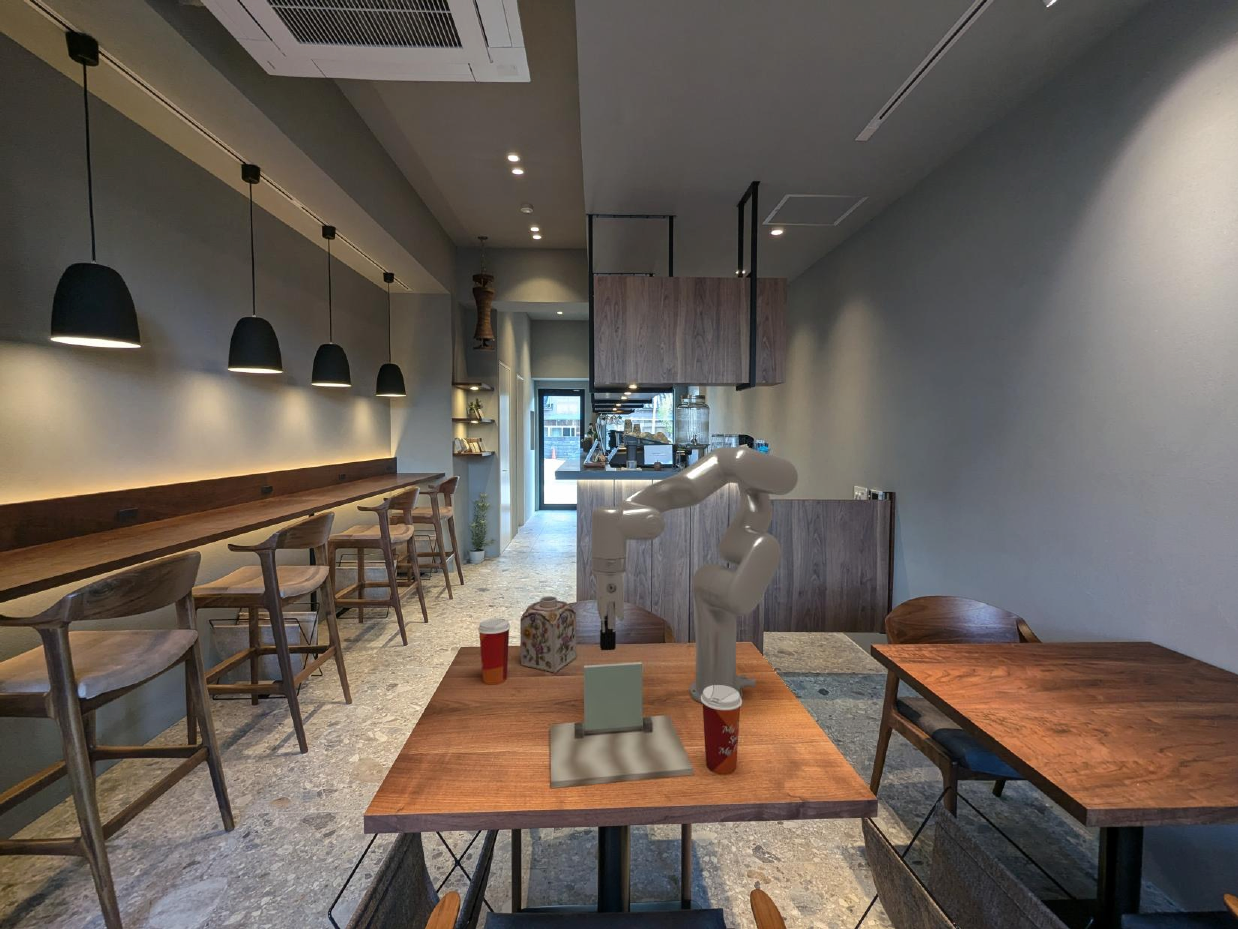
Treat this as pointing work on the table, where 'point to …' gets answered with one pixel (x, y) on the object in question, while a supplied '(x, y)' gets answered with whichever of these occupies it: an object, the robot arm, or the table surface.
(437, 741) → the table surface
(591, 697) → the glazed tile
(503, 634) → the coffee cup
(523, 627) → the decorative jar
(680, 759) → the tile board
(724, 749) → the paper cup
